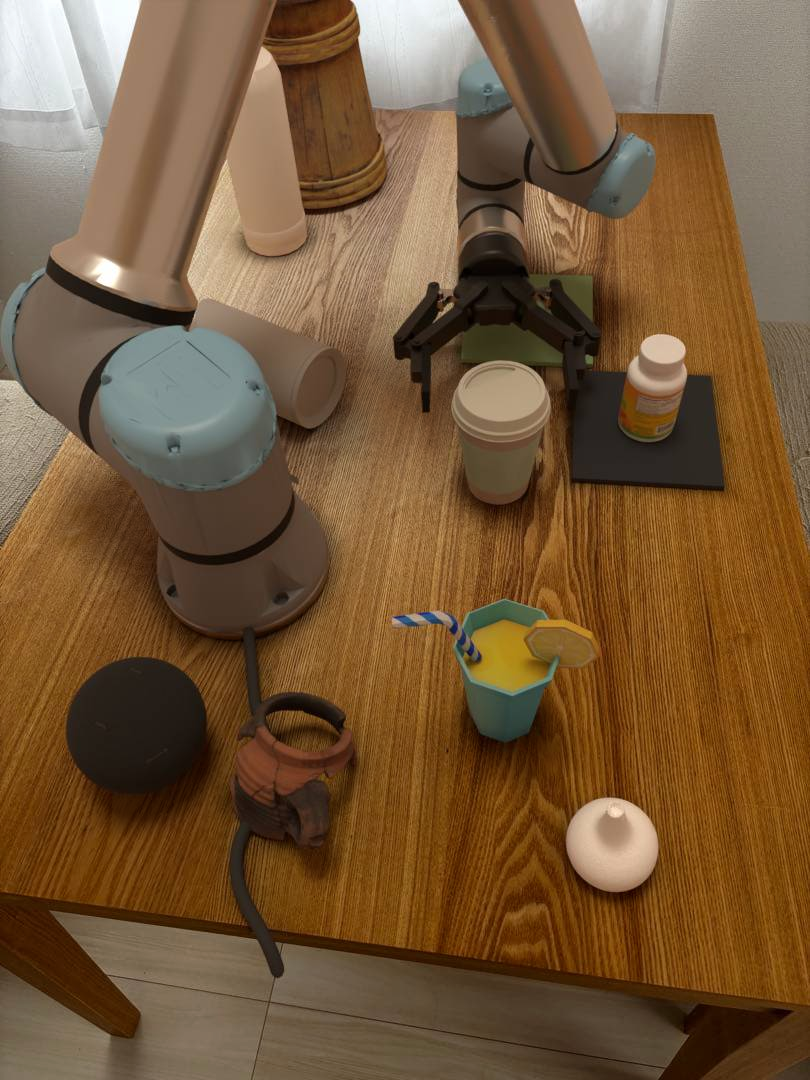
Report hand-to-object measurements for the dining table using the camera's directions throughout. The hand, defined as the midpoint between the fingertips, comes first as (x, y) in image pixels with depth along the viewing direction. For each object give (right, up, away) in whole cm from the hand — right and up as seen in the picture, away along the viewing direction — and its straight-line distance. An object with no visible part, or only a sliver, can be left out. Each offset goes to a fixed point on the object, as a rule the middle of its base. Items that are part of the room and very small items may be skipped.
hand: (498, 401), depth 80 cm
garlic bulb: (+6, -35, -18) cm, 40 cm away
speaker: (-28, -30, -12) cm, 43 cm away
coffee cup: (0, -7, +3) cm, 8 cm away
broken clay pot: (-17, -32, -14) cm, 39 cm away
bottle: (-25, +25, +29) cm, 45 cm away
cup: (-2, -27, -11) cm, 29 cm away
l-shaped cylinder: (-25, +2, +11) cm, 28 cm away
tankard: (-20, +38, +38) cm, 58 cm away
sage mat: (+5, +12, +17) cm, 21 cm away
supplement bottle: (+15, -2, +5) cm, 16 cm away
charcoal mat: (+15, -2, +6) cm, 16 cm away
